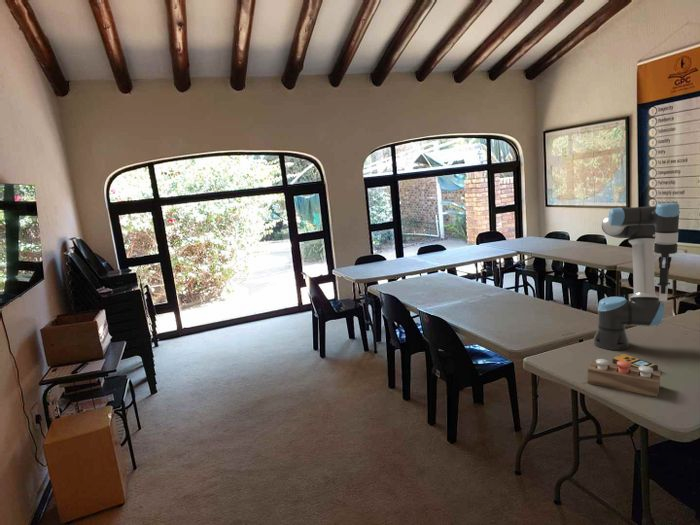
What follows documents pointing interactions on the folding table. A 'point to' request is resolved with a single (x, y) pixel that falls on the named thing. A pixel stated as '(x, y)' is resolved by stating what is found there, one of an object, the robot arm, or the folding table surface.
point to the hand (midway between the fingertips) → (662, 300)
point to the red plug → (623, 366)
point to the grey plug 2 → (645, 371)
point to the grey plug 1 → (602, 364)
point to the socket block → (624, 379)
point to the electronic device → (634, 361)
